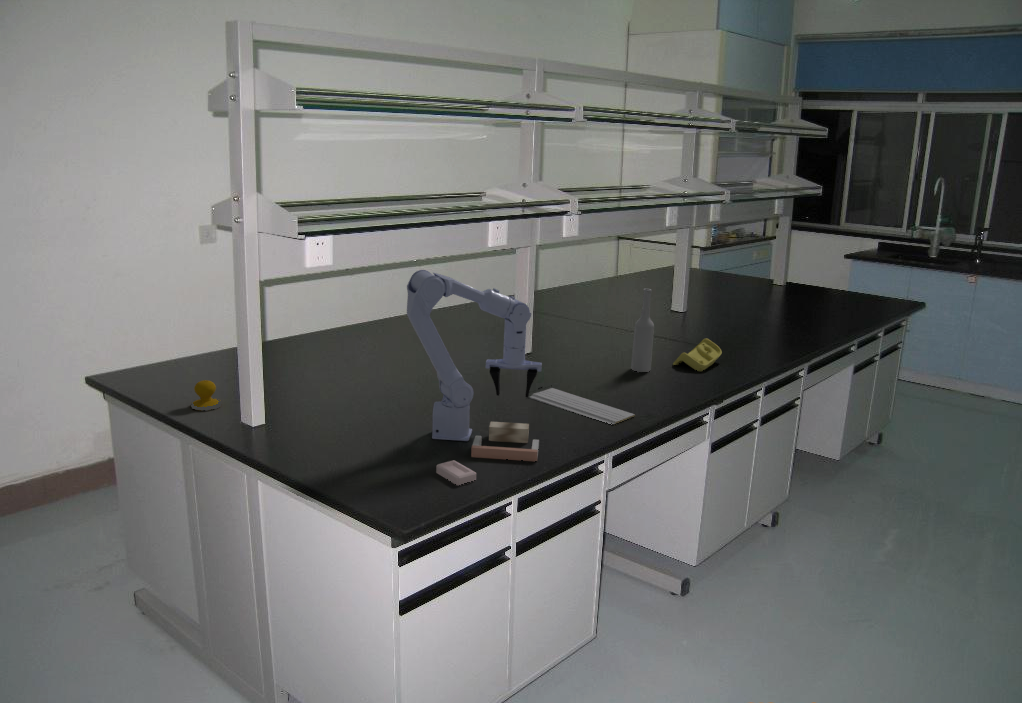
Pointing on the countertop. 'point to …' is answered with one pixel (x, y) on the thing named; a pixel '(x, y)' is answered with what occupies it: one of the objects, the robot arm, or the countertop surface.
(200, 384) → the doorknob
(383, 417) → the countertop surface
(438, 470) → the soap bar
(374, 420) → the countertop surface
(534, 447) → the block with end panels
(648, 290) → the bottle
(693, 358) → the plastic component
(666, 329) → the countertop surface
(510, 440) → the slat block
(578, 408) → the baseboard molding
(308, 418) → the countertop surface
